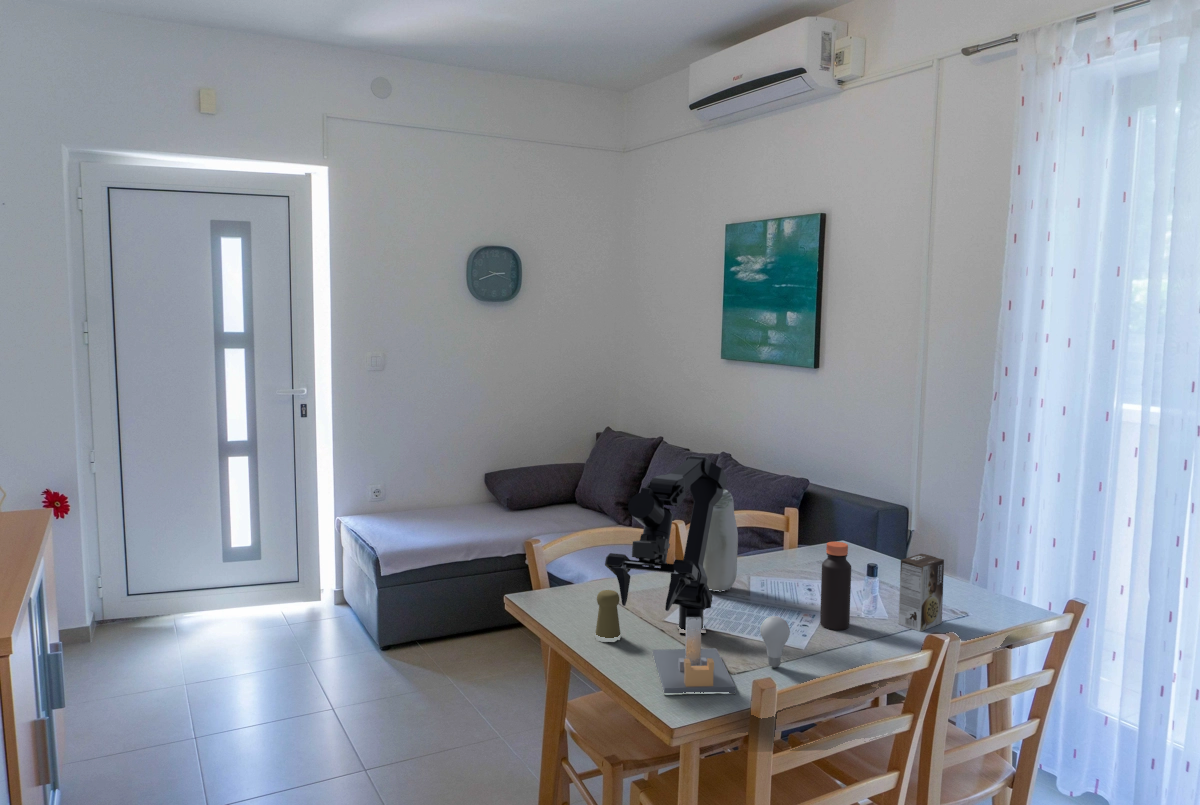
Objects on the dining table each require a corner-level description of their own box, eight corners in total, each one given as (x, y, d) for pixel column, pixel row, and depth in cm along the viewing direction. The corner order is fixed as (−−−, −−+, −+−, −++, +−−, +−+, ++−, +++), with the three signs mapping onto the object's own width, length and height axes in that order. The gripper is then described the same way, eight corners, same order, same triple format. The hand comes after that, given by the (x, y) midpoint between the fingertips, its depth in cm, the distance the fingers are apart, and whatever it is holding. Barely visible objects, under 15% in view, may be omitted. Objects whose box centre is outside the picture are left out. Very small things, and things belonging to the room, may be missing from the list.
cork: (605, 630, 195) (606, 585, 194) (626, 637, 191) (626, 590, 190) (589, 638, 190) (589, 592, 189) (609, 645, 186) (610, 597, 185)
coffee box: (918, 616, 205) (921, 552, 204) (942, 623, 200) (945, 558, 198) (896, 624, 200) (899, 558, 198) (920, 632, 195) (923, 565, 193)
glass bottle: (692, 587, 227) (693, 486, 224) (725, 582, 231) (726, 484, 228) (709, 598, 218) (711, 493, 215) (743, 593, 221) (745, 491, 219)
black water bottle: (838, 632, 194) (841, 549, 192) (814, 624, 199) (816, 543, 197) (855, 626, 198) (857, 544, 196) (831, 618, 203) (833, 538, 201)
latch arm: (685, 665, 169) (685, 663, 170) (700, 665, 169) (699, 663, 170) (686, 619, 168) (686, 617, 169) (701, 618, 168) (700, 616, 169)
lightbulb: (784, 661, 178) (786, 611, 177) (792, 673, 172) (793, 622, 171) (756, 661, 178) (757, 611, 176) (763, 673, 171) (764, 622, 170)
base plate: (652, 656, 180) (652, 628, 179) (716, 654, 181) (716, 627, 180) (664, 695, 161) (664, 664, 161) (735, 694, 162) (735, 663, 161)
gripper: (603, 518, 171) (589, 593, 165) (691, 525, 165) (680, 603, 158) (619, 535, 181) (606, 606, 174) (702, 542, 174) (692, 616, 168)
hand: (645, 608), depth 168 cm, fingers open, 9 cm apart
